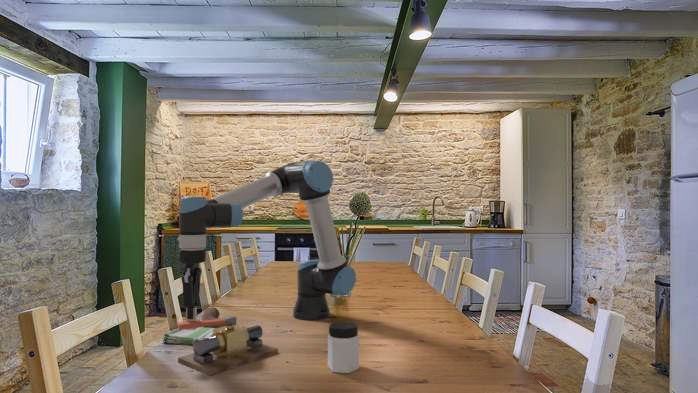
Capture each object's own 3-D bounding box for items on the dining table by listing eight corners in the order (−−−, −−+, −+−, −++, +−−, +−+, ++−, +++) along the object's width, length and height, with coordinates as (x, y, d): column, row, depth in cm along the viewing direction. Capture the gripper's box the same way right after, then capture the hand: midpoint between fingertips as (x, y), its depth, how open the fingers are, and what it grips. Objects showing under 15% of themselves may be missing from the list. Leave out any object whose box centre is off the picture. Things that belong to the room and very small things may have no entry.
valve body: (251, 341, 142) (251, 315, 142) (265, 346, 138) (266, 318, 138) (189, 360, 125) (190, 329, 125) (204, 365, 120) (204, 334, 121)
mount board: (244, 342, 146) (244, 338, 146) (277, 352, 136) (277, 348, 136) (178, 361, 127) (178, 357, 127) (210, 375, 117) (210, 370, 117)
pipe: (230, 319, 157) (244, 308, 167) (190, 315, 162) (206, 305, 171) (231, 336, 158) (245, 324, 168) (192, 331, 163) (207, 320, 172)
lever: (234, 321, 134) (234, 315, 134) (237, 323, 131) (237, 318, 131) (177, 327, 126) (177, 321, 126) (179, 330, 123) (179, 324, 123)
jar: (342, 360, 129) (342, 319, 129) (364, 367, 124) (364, 324, 124) (321, 368, 122) (321, 325, 123) (343, 376, 117) (343, 331, 117)
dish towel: (185, 330, 160) (185, 321, 160) (246, 333, 158) (246, 323, 158) (160, 345, 143) (160, 334, 143) (227, 348, 141) (228, 337, 141)
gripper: (185, 246, 135) (184, 323, 135) (172, 251, 122) (170, 336, 122) (210, 246, 135) (209, 322, 135) (199, 251, 123) (198, 335, 122)
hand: (191, 329), depth 129 cm, fingers closed
